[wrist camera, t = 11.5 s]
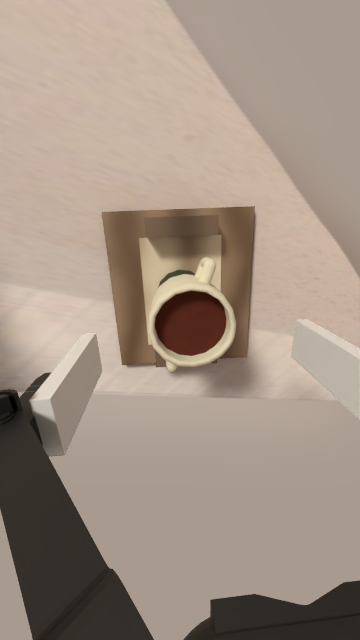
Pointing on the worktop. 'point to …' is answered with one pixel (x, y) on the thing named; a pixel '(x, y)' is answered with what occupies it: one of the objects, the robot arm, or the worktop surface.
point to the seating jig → (176, 267)
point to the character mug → (190, 318)
